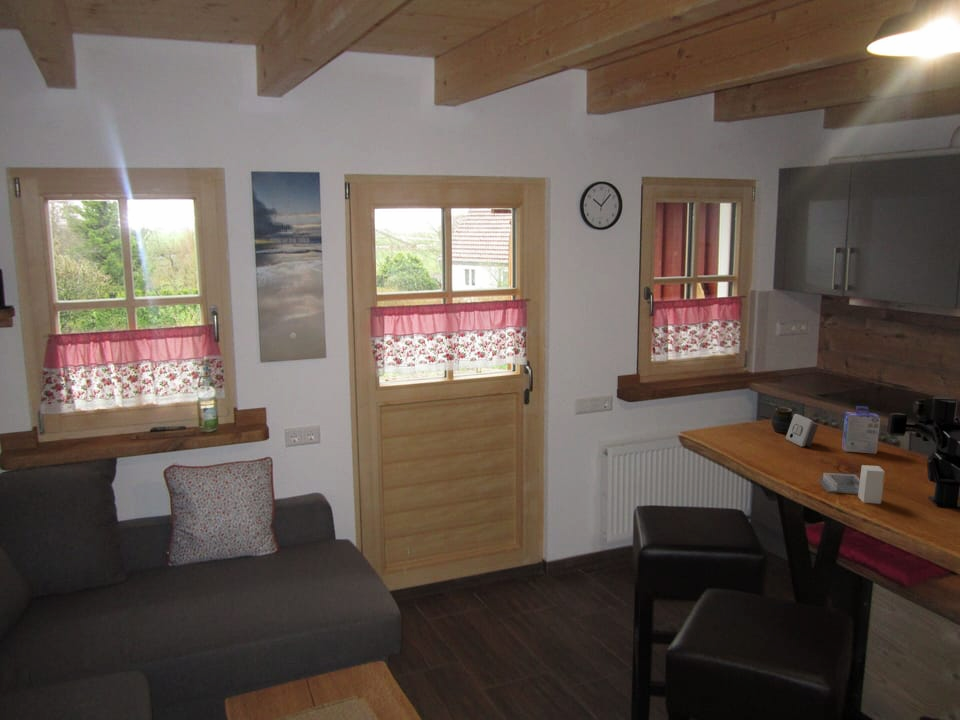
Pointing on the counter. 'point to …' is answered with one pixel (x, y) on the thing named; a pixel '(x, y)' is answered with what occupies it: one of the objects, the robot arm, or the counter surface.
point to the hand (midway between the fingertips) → (910, 418)
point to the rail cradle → (840, 483)
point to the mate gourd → (782, 419)
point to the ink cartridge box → (861, 431)
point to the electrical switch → (801, 431)
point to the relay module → (871, 484)
